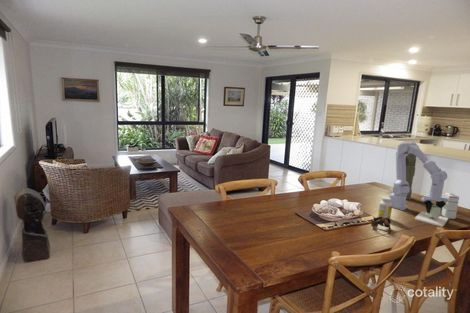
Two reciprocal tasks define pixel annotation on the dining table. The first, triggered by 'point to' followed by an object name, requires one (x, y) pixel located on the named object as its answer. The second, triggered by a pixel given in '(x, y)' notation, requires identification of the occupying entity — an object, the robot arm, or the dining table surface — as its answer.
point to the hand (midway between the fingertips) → (432, 212)
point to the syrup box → (450, 206)
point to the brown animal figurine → (381, 221)
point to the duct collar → (434, 211)
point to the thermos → (410, 171)
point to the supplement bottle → (385, 208)
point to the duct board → (431, 219)
